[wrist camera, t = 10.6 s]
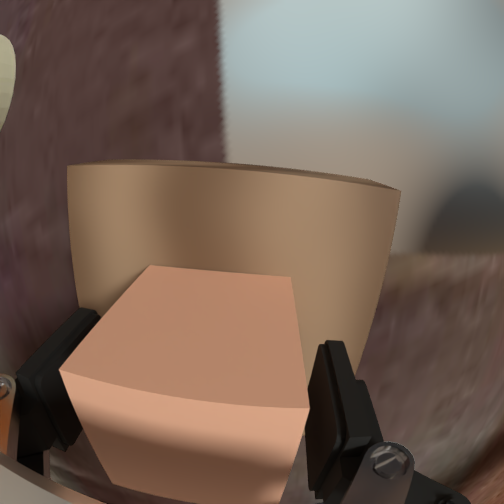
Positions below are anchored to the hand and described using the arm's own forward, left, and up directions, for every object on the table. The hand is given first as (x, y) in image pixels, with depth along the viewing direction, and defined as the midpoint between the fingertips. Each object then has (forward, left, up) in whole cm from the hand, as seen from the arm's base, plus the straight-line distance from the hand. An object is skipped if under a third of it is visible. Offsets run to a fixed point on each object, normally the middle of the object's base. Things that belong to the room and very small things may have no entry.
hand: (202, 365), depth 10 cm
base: (0, 0, -6) cm, 6 cm away
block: (0, 0, -2) cm, 2 cm away
